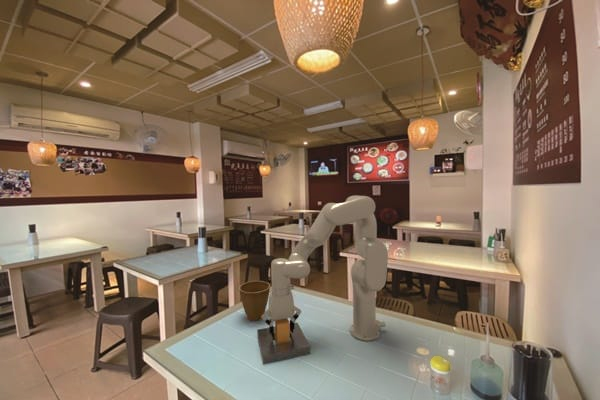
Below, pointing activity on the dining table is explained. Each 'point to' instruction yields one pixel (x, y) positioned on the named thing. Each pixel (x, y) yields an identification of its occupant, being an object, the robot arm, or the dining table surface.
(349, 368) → the dining table surface
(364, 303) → the robot arm
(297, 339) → the grey square frame
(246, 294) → the plant pot
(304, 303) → the dining table surface
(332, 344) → the dining table surface
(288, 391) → the dining table surface
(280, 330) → the orange rectangular block
